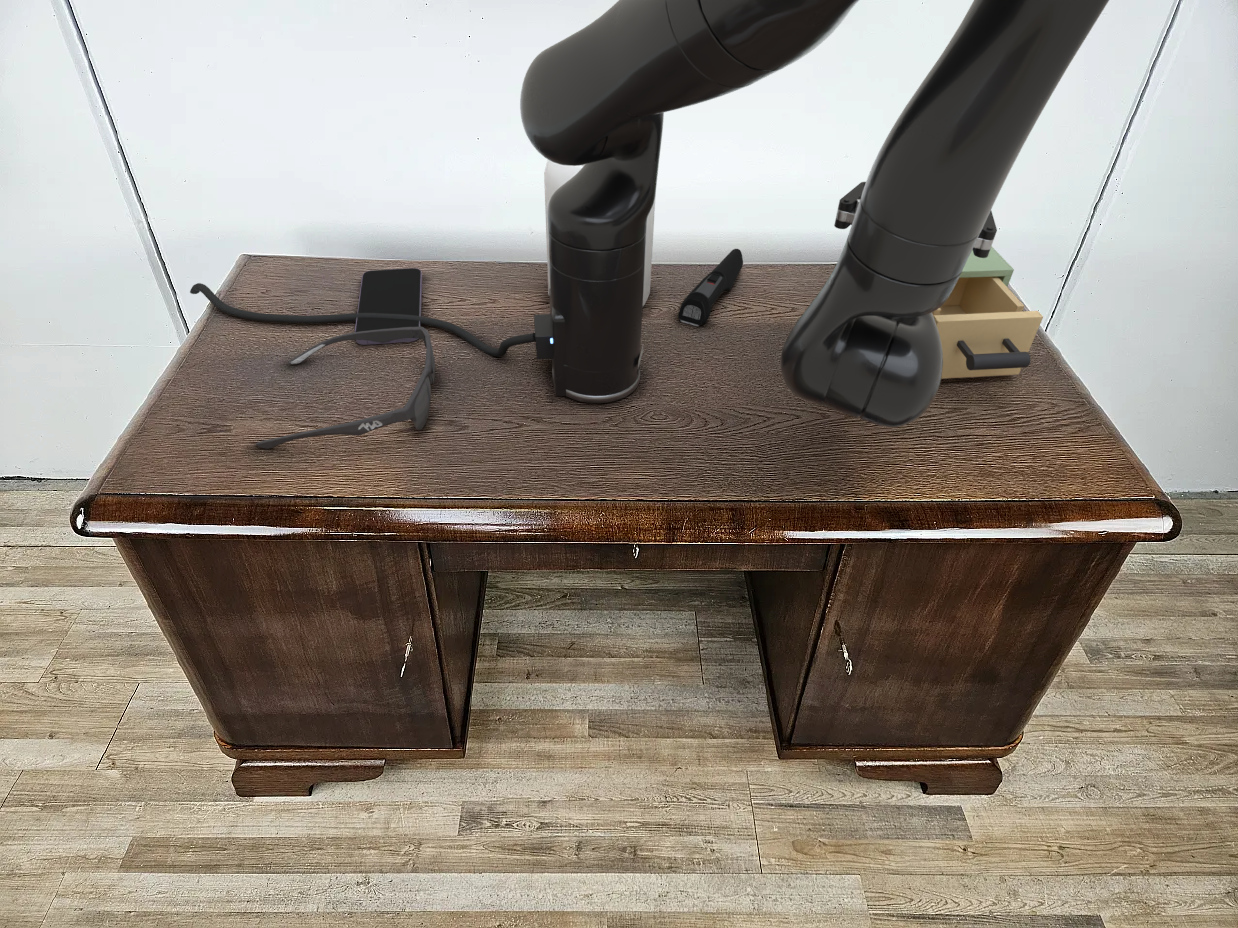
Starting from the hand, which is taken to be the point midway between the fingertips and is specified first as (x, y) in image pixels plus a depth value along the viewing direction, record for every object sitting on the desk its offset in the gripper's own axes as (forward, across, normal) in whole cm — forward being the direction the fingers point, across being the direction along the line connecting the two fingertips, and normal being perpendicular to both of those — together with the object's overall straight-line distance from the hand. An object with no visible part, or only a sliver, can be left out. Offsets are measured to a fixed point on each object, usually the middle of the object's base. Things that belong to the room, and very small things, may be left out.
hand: (927, 188), depth 79 cm
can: (-2, +34, +20) cm, 40 cm away
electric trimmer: (+5, +22, +20) cm, 30 cm away
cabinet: (+12, -2, +20) cm, 23 cm away
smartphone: (-15, +55, +20) cm, 61 cm away
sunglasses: (-32, +48, +20) cm, 61 cm away
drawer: (+3, -7, +19) cm, 20 cm away
